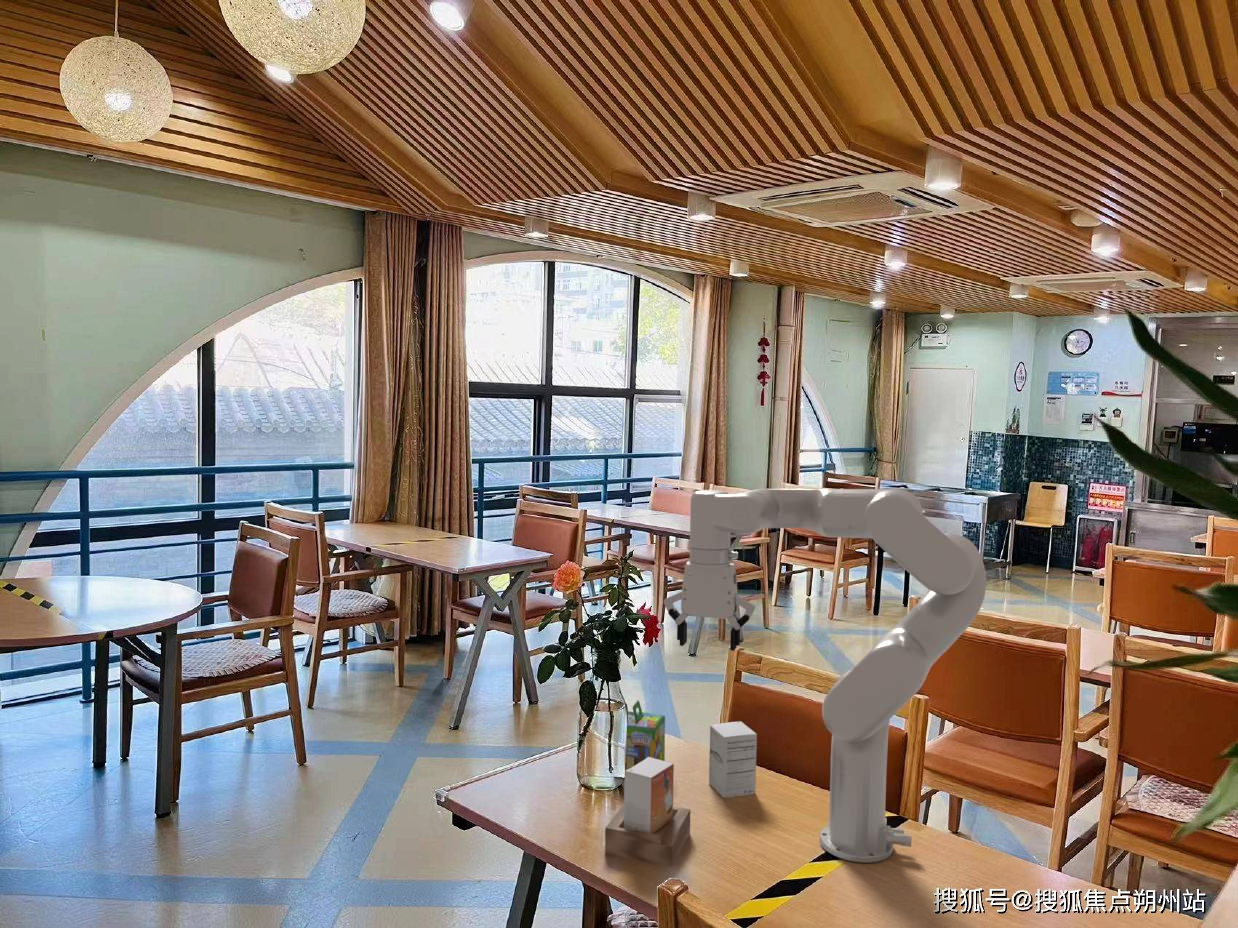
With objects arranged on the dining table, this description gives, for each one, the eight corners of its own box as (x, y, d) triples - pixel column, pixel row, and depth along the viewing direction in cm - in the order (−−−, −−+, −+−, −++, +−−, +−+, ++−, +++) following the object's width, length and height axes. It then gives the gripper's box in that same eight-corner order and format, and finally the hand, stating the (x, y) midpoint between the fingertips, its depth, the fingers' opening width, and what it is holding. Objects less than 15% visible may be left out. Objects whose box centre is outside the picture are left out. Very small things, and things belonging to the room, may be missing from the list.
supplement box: (707, 783, 184) (708, 723, 183) (740, 779, 186) (742, 720, 185) (722, 799, 177) (723, 736, 176) (756, 794, 179) (758, 732, 178)
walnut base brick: (690, 837, 162) (690, 809, 162) (671, 869, 151) (672, 839, 151) (627, 826, 166) (627, 798, 166) (605, 856, 155) (605, 827, 155)
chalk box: (654, 784, 183) (655, 713, 182) (612, 777, 186) (612, 708, 185) (666, 766, 192) (667, 699, 191) (625, 761, 195) (626, 694, 194)
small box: (649, 837, 154) (650, 778, 153) (622, 828, 157) (623, 770, 156) (673, 820, 160) (674, 762, 160) (647, 811, 163) (648, 755, 163)
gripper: (759, 556, 168) (757, 645, 170) (669, 550, 173) (668, 637, 175) (753, 562, 161) (751, 656, 162) (659, 557, 166) (658, 647, 168)
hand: (708, 646), depth 169 cm, fingers open, 9 cm apart
